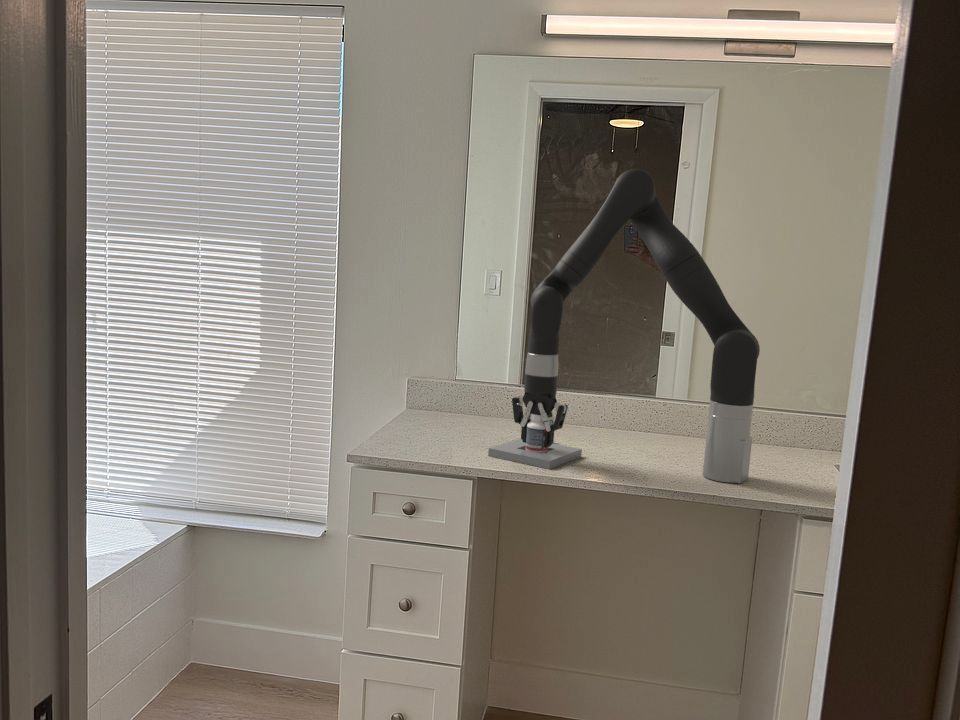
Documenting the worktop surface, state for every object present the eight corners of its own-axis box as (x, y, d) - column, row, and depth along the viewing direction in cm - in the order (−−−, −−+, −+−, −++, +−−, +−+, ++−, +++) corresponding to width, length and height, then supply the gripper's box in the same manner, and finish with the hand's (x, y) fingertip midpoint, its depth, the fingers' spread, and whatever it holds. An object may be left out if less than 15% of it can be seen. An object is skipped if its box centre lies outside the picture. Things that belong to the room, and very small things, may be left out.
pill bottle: (545, 454, 198) (548, 417, 196) (523, 452, 198) (526, 414, 197) (548, 449, 203) (551, 412, 201) (526, 447, 204) (529, 410, 202)
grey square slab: (581, 456, 203) (581, 449, 203) (548, 469, 190) (549, 461, 190) (523, 444, 212) (523, 437, 211) (488, 455, 198) (488, 448, 198)
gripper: (576, 375, 197) (571, 447, 200) (523, 367, 205) (518, 436, 207) (561, 378, 191) (556, 452, 193) (506, 370, 199) (502, 441, 201)
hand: (536, 443), depth 200 cm, fingers closed on pill bottle, 5 cm apart
